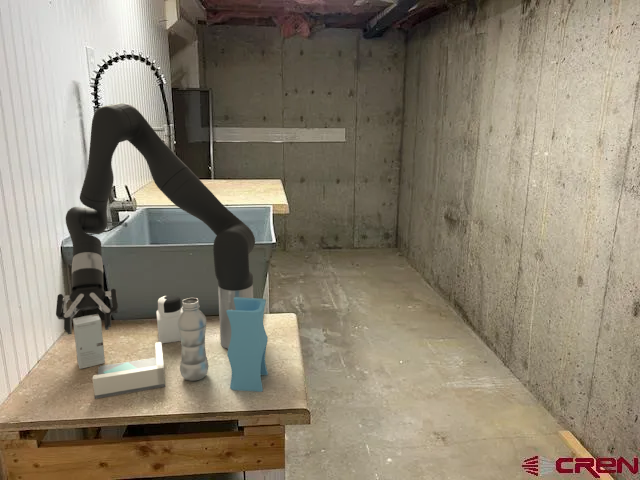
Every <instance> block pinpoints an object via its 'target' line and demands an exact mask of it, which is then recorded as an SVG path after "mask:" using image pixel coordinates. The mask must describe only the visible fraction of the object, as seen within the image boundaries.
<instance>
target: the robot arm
mask: <svg viewBox="0 0 640 480" xmlns="http://www.w3.org/2000/svg"><path fill="white" fill-rule="evenodd" d="M125 141H127V142H129V143H130V144H131V145H132V146H133V147H134V148H135V149H136V150H137V151H138V152H139V153H140V155H142V157H143V158H144V159H145V162H146V163H147V166H148V169H149V171H150V172H149V173H150V174H151V177H152V180H153V181H154V184H155V185H156V187H157V188H158V189H159V190H160V191H161V192H162V193H163V194H164V196H166V197H167V198H168V200H169V201H171V203H173V205H175V206H176V207H177V208H178V209H181V210H182V211H184V212H186V213H187V214H189V215H190V216H192V217H194V218H197V219H199V221H201V222H203V224H205V225H206V226H207V227H208V228H209V229H210V230H211V231H212V232H213V233H214V234H215V235H216V236H215V238H214V240H213V245H212V246H213V249H212V250H213V251H212V252H213V264H214V275H215V277H216V279H217V286H218V287H217V291H218V314H219V317H218V318H219V333H220V335H219V338H220V339H219V341H220V345H221V347H223V348H224V349H227V350H228V348H229V345H230V340H231V325H230V321H229V318H228V315H227V313H226V311H227V310H236V308H235V304H234V297H240V298H254V278H253V274H252V271H250V264H249V263H250V261H249V260H250V258H249V255H250V253H251V252H252V251H253V250H254V247H255V244H256V237H255V235H254V232H253V231H252V229H251V228H250V227H249V226H248V225H246V223H245V222H244V221H242V219H239V217H237V216H236V215H235V214H233V213H232V211H230V210H229V209H228V208H227V207H226V206H225V205H224V204H223V203H222V202H221V201H220V200H219V199H218V198H217V197H216V195H215V194H214V193H213V192H212V191H211V190H210V189H209V188H208V187H207V186H206V185H205V184H204V183H203V181H202V180H201V179H200V178H199V177H198V176H197V175H196V174H195V173H194V172H193V171H192V170H191V169H190V168H189V167H188V165H187V164H186V163H184V162H183V161H182V160H181V158H179V157H178V156H177V155H176V153H175V152H174V151H173V150H172V149H171V148H170V147H169V146H168V145H167V144H166V143H165V142H164V141H163V140H162V138H161V137H160V136H159V135H158V134H157V132H156V130H154V129H153V127H152V126H151V124H150V123H149V122H148V120H147V119H146V118H145V117H144V115H143V114H142V113H141V112H140V111H139V110H138V109H137V108H136V107H135V106H134V105H132V104H129V103H126V102H118V103H113V104H107V105H103V106H100V107H98V108H97V109H96V110H95V112H94V114H93V117H92V121H91V128H90V139H89V150H88V151H89V153H88V160H87V161H88V163H87V169H86V173H85V176H84V179H83V183H82V187H81V190H80V194H79V200H80V203H81V204H82V205H84V206H85V207H82V206H72V207H71V208H70V209H68V210H67V213H66V214H65V225H66V228H67V231H68V233H69V236H70V239H71V243H72V264H71V292H70V294H67V295H63V294H62V293H58V295H57V298H56V310H55V316H56V317H57V319H58V320H63V322H64V323H63V330H64V331H65V333H66V334H67V335H72V333H73V332H72V331H73V329H72V328H73V326H72V323H73V318H74V317H75V315H77V313H79V311H88V310H96V309H97V308H98V309H99V310H100V311H101V312H102V313H104V315H103V316H104V330H105V331H107V330H108V331H109V328H111V327H112V315H113V314H118V313H119V303H118V294H117V290H116V289H115V288H111V290H107V291H106V290H105V289H104V264H103V259H102V258H103V257H102V256H103V255H102V242H101V239H99V238H98V237H97V236H95V235H100V234H102V233H104V232H105V231H106V229H107V227H108V211H107V209H108V201H109V198H110V195H111V192H112V189H113V186H114V172H113V166H112V161H113V157H114V156H113V155H114V153H115V151H116V149H117V147H118V145H119V143H122V142H125ZM92 234H93V235H92ZM106 297H108V299H109V300H111V305H112V307H110V308H109V307H108V306H107V305H106V304H105V303H104V300H105V298H106ZM69 301H70V302H71V305H70V306H69V308H68V310H67V311H65V310H64V309H65V305H66V304H67V303H68V302H69ZM64 311H65V312H64Z"/></svg>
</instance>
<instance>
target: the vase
mask: <svg viewBox="0 0 640 480" xmlns="http://www.w3.org/2000/svg"><path fill="white" fill-rule="evenodd" d="M266 302H267V301H266V299H264V298H260V297H253V298H240V297H234V304H235V308H236V310H227V311H226V313H227V315H228V318H229V321H230V325H231V340H230V345H229V348H228V349H227V359H228V362H229V365H230V370H231V378H230V385H229V389H230V390H232V391H240V392H241V391H244V392H259V393H260V392H263V391H264V388H263V383H262V376H268V375H269V372H268V368H267V364H266V353H267V352H266V351H267V346H268V341H269V340H268V338H269V337H268V335H267V333H266V330H265V325H264V314H265V307H266Z"/></svg>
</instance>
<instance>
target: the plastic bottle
mask: <svg viewBox="0 0 640 480" xmlns="http://www.w3.org/2000/svg"><path fill="white" fill-rule="evenodd" d="M181 301H182V302H181V308H182V309H183V312H182V314H181V315H180V317H179V319H178V329H179V333H180V338H181V341H180V347H181V353H180V357H181V359H180V364H179V371H180V376H181V377H182V378H183V379H184V380H186V381H189V382H195V381H199V380H202V379H204V378H205V377H206V375H208V371H209V367H210V365H209V361H208V357H207V351H206V331H207V317H206V315H205V314H204V313H203V312H202V311H201V310H200V308H201V306H200V300H199V298H197V297H189V298H188V297H187V298H185V299H182V300H181Z"/></svg>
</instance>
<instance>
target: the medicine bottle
mask: <svg viewBox="0 0 640 480" xmlns="http://www.w3.org/2000/svg"><path fill="white" fill-rule="evenodd" d="M181 301H182V300H181V298H180V296H179V295H174V294H167V295H164V296H161V297H159V298H158V300H157V310H156V311H155V313H156V325H157V335H158V342H161V344H163V345H164V344H168V343H169V344H170V343H174V342H181V338H180V333H179V329H178V319H179V317H180V315H181V314H182V312H183V311H184V310H183V309H182V302H181Z"/></svg>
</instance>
